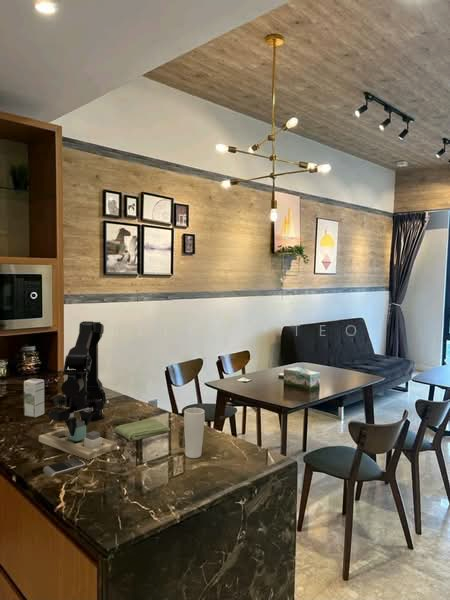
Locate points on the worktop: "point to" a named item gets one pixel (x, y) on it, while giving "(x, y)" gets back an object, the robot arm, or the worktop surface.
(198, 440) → the drinking glass
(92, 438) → the off-white plug
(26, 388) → the syrup box
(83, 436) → the teal plug
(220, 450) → the worktop surface
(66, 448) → the wooden grid tray
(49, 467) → the cell phone
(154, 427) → the washcloth
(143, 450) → the worktop surface
